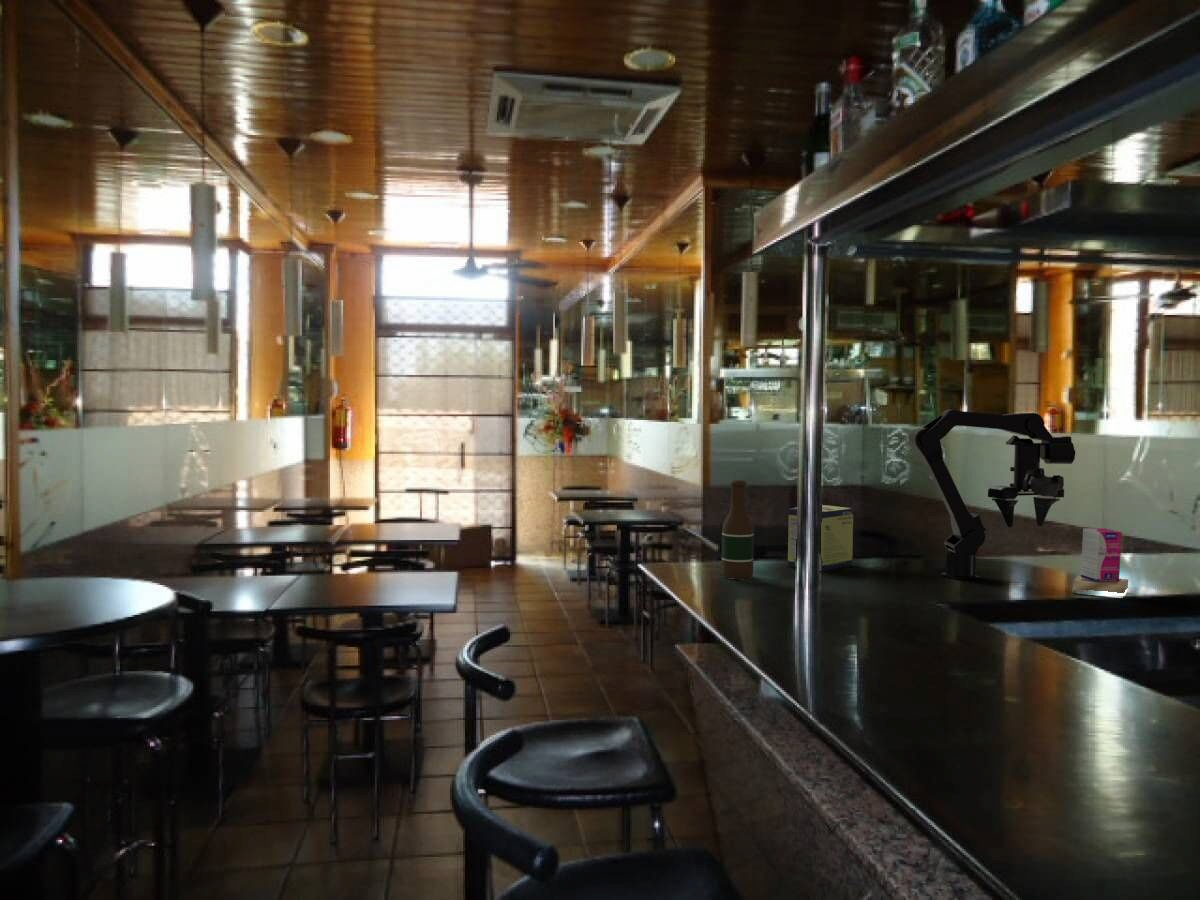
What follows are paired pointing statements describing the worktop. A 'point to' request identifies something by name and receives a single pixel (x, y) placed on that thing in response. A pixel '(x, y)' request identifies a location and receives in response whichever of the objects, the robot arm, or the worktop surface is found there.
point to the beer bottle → (737, 536)
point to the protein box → (828, 536)
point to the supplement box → (1101, 554)
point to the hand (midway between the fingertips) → (1025, 526)
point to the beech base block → (1100, 585)
